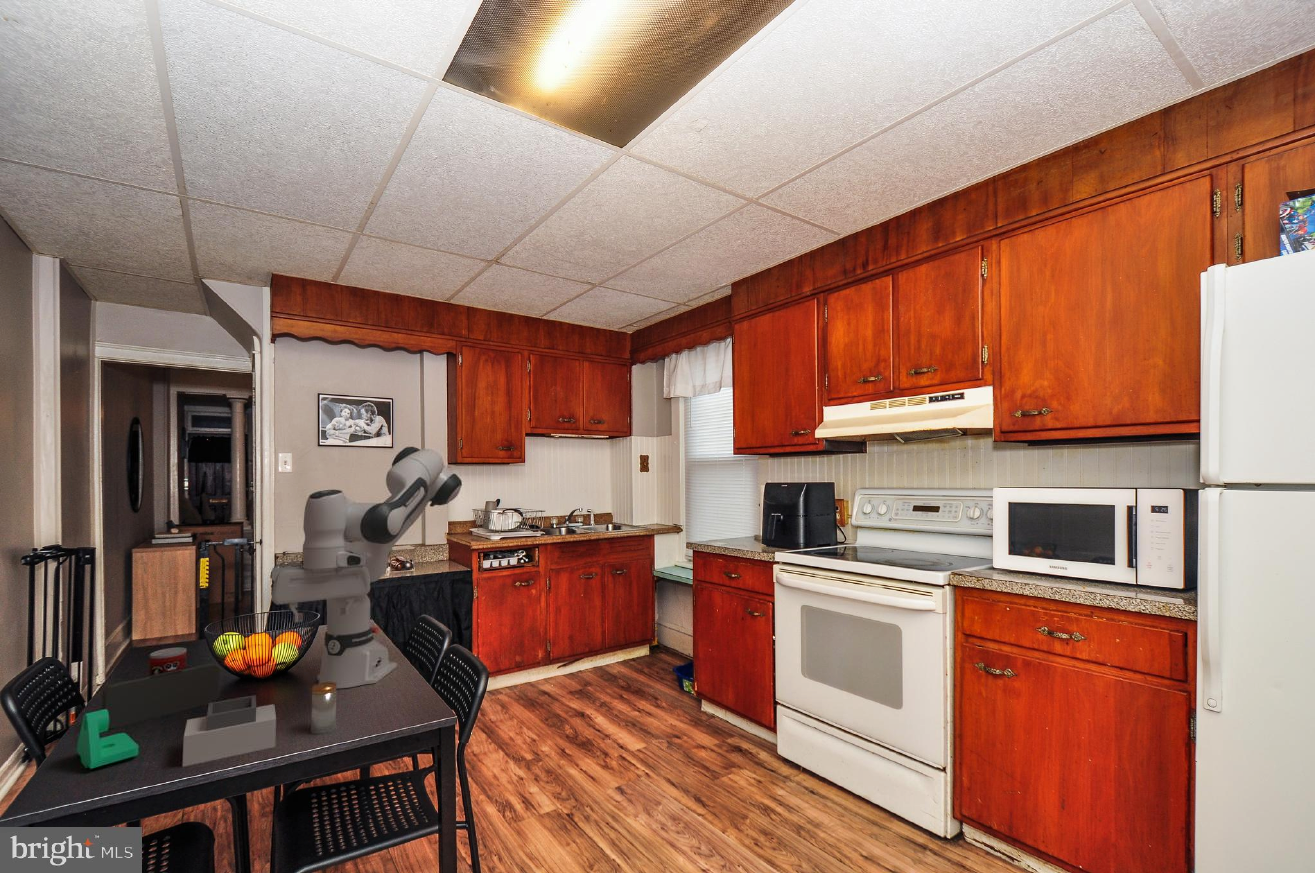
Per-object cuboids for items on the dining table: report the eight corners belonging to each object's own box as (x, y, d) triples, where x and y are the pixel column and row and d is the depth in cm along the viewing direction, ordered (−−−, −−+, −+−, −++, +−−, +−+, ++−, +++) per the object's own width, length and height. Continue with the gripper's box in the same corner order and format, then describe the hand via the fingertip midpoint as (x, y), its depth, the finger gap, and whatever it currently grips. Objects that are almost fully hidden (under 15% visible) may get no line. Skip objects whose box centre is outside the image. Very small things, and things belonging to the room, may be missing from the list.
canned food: (140, 698, 162) (142, 656, 162) (163, 687, 170) (165, 647, 170) (170, 698, 162) (171, 655, 162) (192, 687, 170) (193, 647, 170)
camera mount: (139, 759, 128) (141, 709, 129) (90, 774, 122) (92, 721, 123) (123, 744, 136) (125, 696, 136) (76, 757, 130) (79, 707, 130)
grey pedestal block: (182, 766, 125) (184, 721, 125) (186, 748, 133) (188, 705, 134) (275, 746, 134) (276, 704, 134) (273, 730, 142) (274, 690, 143)
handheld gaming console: (215, 699, 161) (217, 660, 162) (219, 702, 160) (220, 662, 160) (99, 728, 143) (102, 685, 144) (102, 732, 142) (104, 687, 142)
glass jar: (321, 724, 146) (322, 681, 146) (340, 725, 145) (341, 682, 145) (305, 733, 141) (307, 688, 141) (325, 735, 140) (326, 690, 140)
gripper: (273, 564, 136) (271, 628, 136) (372, 557, 149) (371, 615, 148) (270, 561, 141) (268, 622, 141) (366, 554, 154) (364, 610, 153)
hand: (321, 618), depth 144 cm, fingers open, 8 cm apart
